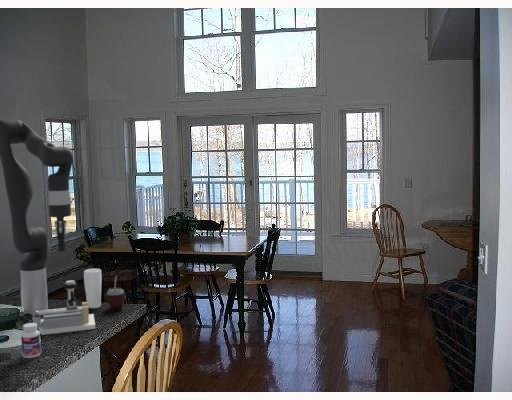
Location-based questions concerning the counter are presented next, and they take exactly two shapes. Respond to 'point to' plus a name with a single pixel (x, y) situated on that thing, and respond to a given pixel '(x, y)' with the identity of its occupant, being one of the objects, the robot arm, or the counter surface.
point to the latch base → (65, 321)
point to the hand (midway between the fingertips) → (61, 250)
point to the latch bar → (58, 310)
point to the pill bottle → (30, 341)
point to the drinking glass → (93, 287)
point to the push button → (70, 292)
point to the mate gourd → (115, 297)
